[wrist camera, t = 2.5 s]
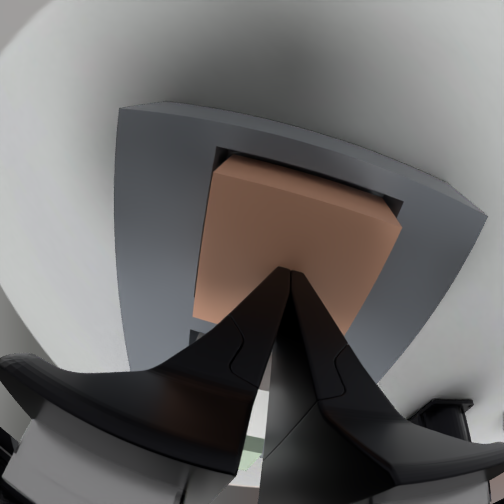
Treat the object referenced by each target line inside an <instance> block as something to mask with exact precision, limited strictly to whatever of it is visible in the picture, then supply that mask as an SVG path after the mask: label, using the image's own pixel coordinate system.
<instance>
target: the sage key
mask: <svg viewBox="0 0 504 504" xmlns="http://www.w3.org/2000/svg"><path fill="white" fill-rule="evenodd" d="M264 440H265V439H263V438H258V437H253V436H248V435H246V439H245V444H244V448H243V452H242V456H241V461H240V465H239V468H238V469H239V470H244V471H246V470H247V469H248V468H249V467H250V466H251V465H252V464H253V463H254V462H255V461H256V460H257V459H258V458H259V457H260V455H261V454H262V452H263V446H264Z"/></svg>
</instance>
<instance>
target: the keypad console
mask: <svg viewBox="0 0 504 504" xmlns="http://www.w3.org/2000/svg"><path fill="white" fill-rule="evenodd" d="M233 154H235V155H239V156H243V157H247V158H251V159H256V160H260V161H264V162H267V163H271V164H275V165H279V166H283V167H286V168H290V169H294V170H297V171H301V172H304V173H308V174H311V175H314V176H318V177H321V178H324V179H328V180H331V181H334V182H337V183H340V184H343V185H346V186H350V187H353V188H356V189H359V190H361V191H364V192H367V193H370V194H373V195H376V196H379V197H381V198H383V199H384V201H385V202H386V204H387V205H388V207H389V208H390V210H391V211H392V213H393V214H394V216H395V217H396V219H397V220H398V222H399V223H400V225H401V226H402V229H401V231H400V234H399V236H398V238H397V240H396V242H395V244H394V246H393V248H392V250H391V252H390V254H389V256H388V258H387V260H386V262H385V264H384V266H383V268H382V270H381V272H380V274H379V276H378V278H377V280H376V282H375V283H374V285H373V287H372V289H371V291H370V293H369V294H368V296H367V298H366V300H365V302H364V303H363V305H362V307H361V309H360V310H359V312H358V314H357V316H356V317H355V319H354V321H353V322H352V324H351V326H350V327H349V329H348V331H347V332H346V334H345V335H344V337H345V339H346V340H347V342H348V344H349V345H350V346H351V348H352V350H353V351H354V353H355V354H356V356H357V357H358V359H359V360H360V362H361V364H362V365H363V367H364V368H365V369H366V371H367V372H368V373H369V375H370V376H371V378H372V379H373V380H374V382H375V383H376V384H377V383H378V382H379V380H380V379H381V378H382V377H383V376H384V375H385V374H386V373H387V371H388V370H389V369H390V368H391V367H392V366H393V364H394V363H395V362H396V361H397V360H398V358H399V357H400V356H401V355H402V353H403V352H404V351H405V350H406V348H407V347H408V346H409V345H410V343H411V342H412V341H413V339H414V338H415V337H416V335H417V334H418V333H419V331H420V330H421V329H422V327H423V326H424V325H425V323H426V322H427V320H428V319H429V318H430V316H431V315H432V313H433V312H434V310H435V309H436V308H437V306H438V305H439V303H440V302H441V300H442V299H443V297H444V295H445V294H446V292H447V291H448V289H449V288H450V286H451V284H452V283H453V281H454V279H455V278H456V276H457V274H458V273H459V271H460V269H461V268H462V266H463V264H464V262H465V261H466V259H467V257H468V255H469V253H470V252H471V250H472V248H473V246H474V244H475V242H476V240H477V238H478V236H479V234H480V232H481V230H482V228H483V226H484V224H485V222H486V220H487V217H488V216H487V215H486V214H485V213H484V212H482V211H481V210H480V209H479V208H478V207H477V206H475V205H474V204H473V203H472V202H471V201H469V200H468V199H467V198H466V197H465V196H463V195H462V194H461V193H460V192H458V191H457V190H456V189H454V188H453V187H452V186H451V185H449V184H448V183H446V182H444V181H442V180H440V179H438V178H436V177H434V176H431V175H429V174H427V173H425V172H423V171H420V170H418V169H416V168H413V167H411V166H409V165H406V164H404V163H402V162H399V161H397V160H394V159H392V158H389V157H387V156H384V155H382V154H379V153H376V152H374V151H371V150H368V149H366V148H363V147H360V146H357V145H354V144H351V143H348V142H345V141H342V140H339V139H336V138H333V137H330V136H327V135H324V134H320V133H317V132H314V131H310V130H307V129H303V128H300V127H296V126H292V125H289V124H285V123H281V122H277V121H273V120H269V119H264V118H260V117H256V116H251V115H246V114H242V113H237V112H232V111H226V110H221V109H216V108H210V107H204V106H197V105H191V104H184V103H176V102H168V101H165V102H157V103H149V104H142V105H136V106H130V107H124V108H119V116H118V126H117V138H116V152H115V175H114V230H115V253H116V268H117V280H118V290H119V300H120V308H121V316H122V324H123V331H124V337H125V344H126V350H127V355H128V361H129V366H130V371H143V370H147V369H150V368H153V367H155V366H157V365H159V364H161V363H163V362H164V361H166V360H168V359H169V358H171V357H172V356H174V355H175V354H177V353H178V352H180V351H181V350H183V349H184V348H186V347H187V346H189V345H190V344H192V343H193V342H195V341H196V339H197V337H198V334H199V332H201V333H204V334H206V333H207V332H209V331H210V330H211V329H212V328H214V327H215V326H216V325H217V324H215V323H212V322H208V321H205V320H202V319H198V318H195V317H193V308H194V299H195V291H196V283H197V275H198V267H199V260H200V252H201V245H202V238H203V232H204V225H205V218H206V212H207V206H208V199H209V193H210V187H211V182H212V176H213V172H214V171H215V170H216V169H217V168H218V167H219V166H220V165H222V164H223V163H224V162H225V161H226V160H227V159H228V158H229V157H230V156H231V155H233ZM264 442H265V440H264ZM263 452H264V446H263ZM263 452H262V454H261V455H260V458H263Z"/></svg>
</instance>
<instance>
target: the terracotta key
mask: <svg viewBox="0 0 504 504" xmlns="http://www.w3.org/2000/svg"><path fill="white" fill-rule="evenodd" d="M401 229H402V226H401V225H400V223H399V222H398V220H397V219H396V217H395V216H394V214H393V213H392V211H391V210H390V208H389V207H388V205H387V204H386V202H385V201H384V199H383V198H381V197H379V196H376V195H373V194H370V193H367V192H364V191H361V190H359V189H356V188H353V187H350V186H346V185H343V184H340V183H337V182H334V181H331V180H328V179H324V178H321V177H318V176H314V175H311V174H308V173H304V172H301V171H297V170H294V169H290V168H286V167H283V166H279V165H275V164H271V163H267V162H264V161H260V160H256V159H251V158H247V157H243V156H239V155H235V154H233V155H231V156H230V157H229V158H228V159H227V160H226V161H225V162H224V163H223V164H222V165H220V166H219V167H218V168H217V169H216V170H215V171H214V172H213V176H212V182H211V187H210V193H209V199H208V206H207V212H206V218H205V225H204V232H203V238H202V245H201V252H200V260H199V267H198V275H197V283H196V291H195V299H194V308H193V317H195V318H198V319H202V320H205V321H208V322H212V323H215V324H218V323H219V322H220V321H221V320H223V319H224V318H225V317H226V316H227V315H228V314H229V313H230V312H231V311H232V310H233V309H234V308H235V307H236V306H237V305H238V304H239V303H240V302H242V301H243V300H244V299H245V298H246V297H247V296H248V295H249V294H250V293H251V292H252V291H253V290H254V289H255V288H256V287H257V286H258V285H259V284H260V283H261V282H262V281H263V280H264V279H265V278H266V277H267V276H268V275H269V274H270V273H271V272H272V271H273V270H274V269H275V268H276V267H278V266H280V267H284V268H288V269H290V271H291V270H295V271H299V272H302V273H304V274H305V276H306V277H307V279H308V281H309V282H310V284H311V285H312V287H313V288H314V290H315V291H316V293H317V294H318V296H319V298H320V299H321V301H322V302H323V304H324V305H325V307H326V308H327V310H328V312H329V313H330V315H331V316H332V318H333V319H334V321H335V323H336V324H337V326H338V327H339V329H340V331H341V332H342V334H343V335H345V334H346V332H347V331H348V329H349V327H350V326H351V324H352V322H353V321H354V319H355V317H356V316H357V314H358V312H359V310H360V309H361V307H362V305H363V303H364V302H365V300H366V298H367V296H368V294H369V293H370V291H371V289H372V287H373V285H374V283H375V282H376V280H377V278H378V276H379V274H380V272H381V270H382V268H383V266H384V264H385V262H386V260H387V258H388V256H389V254H390V252H391V250H392V248H393V246H394V244H395V242H396V240H397V238H398V236H399V234H400V231H401Z"/></svg>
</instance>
